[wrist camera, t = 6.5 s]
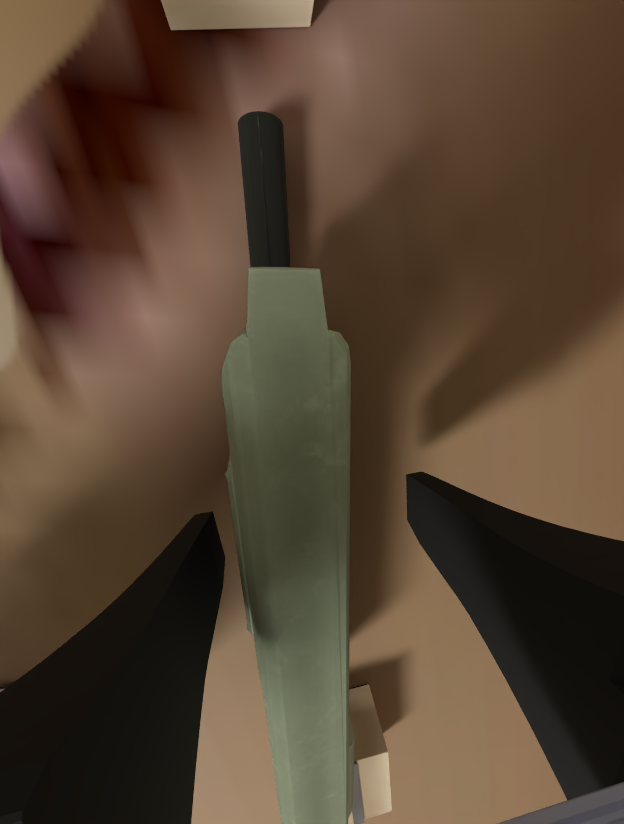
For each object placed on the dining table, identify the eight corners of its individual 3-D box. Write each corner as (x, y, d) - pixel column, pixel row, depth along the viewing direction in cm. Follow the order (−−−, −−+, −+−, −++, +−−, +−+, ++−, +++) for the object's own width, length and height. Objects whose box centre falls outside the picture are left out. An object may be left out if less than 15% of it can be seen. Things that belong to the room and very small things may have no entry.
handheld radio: (267, 674, 17) (203, 142, 9) (323, 661, 18) (306, 148, 10) (276, 881, 11) (103, -220, 3) (362, 850, 11) (396, -149, 4)
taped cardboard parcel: (316, 757, 20) (325, 834, 17) (96, -342, 6) (-48, -901, 3) (374, 741, 20) (392, 813, 17) (278, -323, 7) (288, -807, 4)
